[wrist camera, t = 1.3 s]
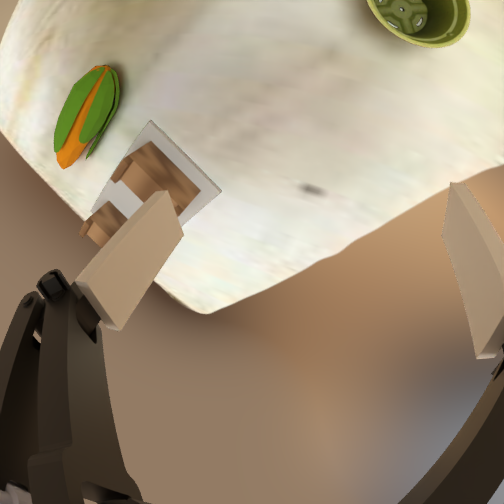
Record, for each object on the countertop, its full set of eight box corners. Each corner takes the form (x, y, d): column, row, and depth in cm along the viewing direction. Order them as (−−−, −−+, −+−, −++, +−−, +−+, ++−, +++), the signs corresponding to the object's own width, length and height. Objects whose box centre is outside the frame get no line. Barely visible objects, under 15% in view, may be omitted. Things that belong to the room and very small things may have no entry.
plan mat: (92, 209, 49) (90, 211, 49) (151, 120, 36) (148, 121, 35) (144, 260, 54) (143, 262, 53) (221, 190, 40) (220, 192, 40)
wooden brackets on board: (103, 210, 49) (78, 233, 43) (153, 139, 38) (122, 159, 32) (141, 248, 52) (120, 274, 46) (202, 188, 41) (179, 215, 35)
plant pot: (343, 19, 23) (345, 7, 16) (376, -41, 16) (387, -67, 10) (419, 64, 23) (445, 69, 17) (452, 5, 17) (484, -4, 10)
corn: (103, 90, 26) (59, 194, 38) (143, 81, 32) (90, 175, 44) (71, 58, 25) (34, 165, 37) (111, 52, 31) (67, 148, 43)
